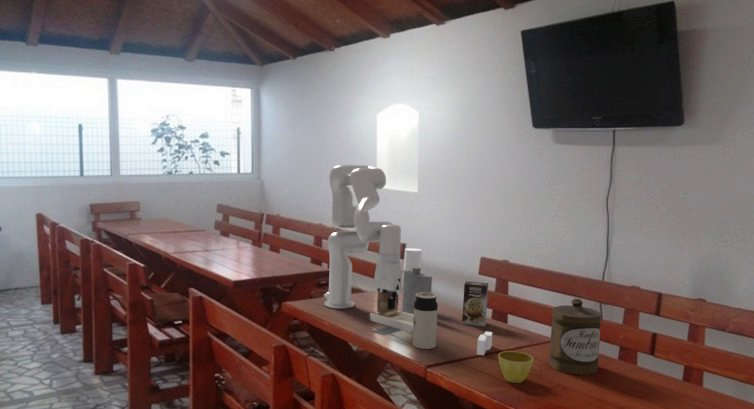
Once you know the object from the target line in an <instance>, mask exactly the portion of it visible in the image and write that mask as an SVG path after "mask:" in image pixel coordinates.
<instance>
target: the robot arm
mask: <svg viewBox="0 0 754 409" xmlns="http://www.w3.org/2000/svg"><path fill="white" fill-rule="evenodd" d="M386 183H387V176H386V174H385V172H384V171H383V170H382V169H381V168H379V167H374V166H371V165H364V164H363V165H361V164H358V165H357V164H339V165H335V166H333V167H332V168H331V170H330V173H329V185H330V186H329V187H330V188H331V195H332V201H331V202H332V204H331V208H332V209H331V220H332V221H331V222H332V225H333V227H335V228H337V229H355V230H348V231H347V230H346V231H345V230H344V231H341V230H339V231H335V232H332V233H331V234H330V235H329V236H328V240H327V244H328V254H329V273H328V274H329V276H328V291H327V292H326V293H324V294H323V297H324V298H326V300H325V301H324V306H325V307H327V308H329V309H339V310H340V309H341V310H343V309H344V310H345V309H350V308H354V307H355V302H354V301H353V300H352V283H353V282H352V280H353V279H352V277H353V276H352V275H353V264H352V261H351V259H350V258H349V256H348V255H350V254H353V255H354V254H363V253H366V251H368V249H369V245H370V243H379V253H378V254H377V257H378V260H377V263H376V265H375V271H374V281H373V282H374V284H373V286H374V288H375V289H376V291H377V293H379V292H385V291H389V297H390V299H388V310H391V309H395V298H397V296H398V297H399V295H402V294H403V272H402V263H401V262H400V261H401V240H402V239H401V238H402V236H401V235H402V234H401V233H402V228H401V227H400V225H398V224H394V223H392V222H390V221H370V215H369V214H370V213H369V211H370V210H372V209H373V208H375V207H376V206H377V205H379V203H380V201H381V200H380V199H381V198H380V194H379V193H378V190H382V189H384V188H385V186H386V185H387V184H386ZM349 186H352V189H353V192H354V196H355V198H356V201H357V203H358V205H354V204H353V201H354V200H353V199H354V198H353V197H354V196H353V192H352V191H351V188H350V187H349Z"/></svg>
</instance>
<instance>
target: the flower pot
mask: <svg viewBox="0 0 754 409" xmlns="http://www.w3.org/2000/svg"><path fill="white" fill-rule="evenodd" d="M533 362H534V357H533V356H532V355H530V354H528V353H525V352H521V351H520V352H519V351H512V350H506V351H501V352H499V353H498V363H499V367H500V370H501V372H502V375H503V377H504V379H505V381H507V382H509V383H513V384H521V383H523V382H524V380H526V378H527V376H528V375H529V373H530V372H531V369H532V367H533V366H532V365H533V364H534V363H533Z"/></svg>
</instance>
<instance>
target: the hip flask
mask: <svg viewBox="0 0 754 409" xmlns="http://www.w3.org/2000/svg"><path fill="white" fill-rule="evenodd" d="M420 270H421V271H422V267H421V268H420V267H412V270H404V269H403V279H402V291H403V293H402V306H401V307H402V308H401V309H402V310H401V311H402V312H405V313H409V314H413V315H414V303H415V301H416V295H415V294H416V293H419V292H430V293H432V285H433V283H432V282H433V276H432V275H429V274H423V273H422V272H421V273H420Z"/></svg>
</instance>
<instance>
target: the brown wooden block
mask: <svg viewBox="0 0 754 409" xmlns="http://www.w3.org/2000/svg"><path fill="white" fill-rule="evenodd" d="M388 299H390V297H389V291H385V292H377V301H376V302H377V304H376V307H377V308H376V312H377V313H379V312H380V313H387V312H392V311H396V310H398V311H399V295H398V296H397V298H395V309H391V310H388Z"/></svg>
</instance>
